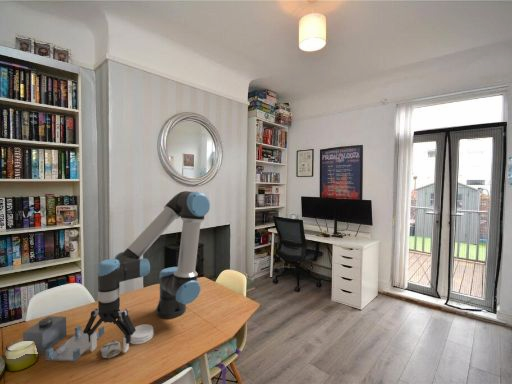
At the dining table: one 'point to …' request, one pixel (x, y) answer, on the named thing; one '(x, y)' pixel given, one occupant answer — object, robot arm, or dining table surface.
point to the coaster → (142, 334)
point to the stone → (110, 349)
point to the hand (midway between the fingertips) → (109, 350)
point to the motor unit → (58, 339)
